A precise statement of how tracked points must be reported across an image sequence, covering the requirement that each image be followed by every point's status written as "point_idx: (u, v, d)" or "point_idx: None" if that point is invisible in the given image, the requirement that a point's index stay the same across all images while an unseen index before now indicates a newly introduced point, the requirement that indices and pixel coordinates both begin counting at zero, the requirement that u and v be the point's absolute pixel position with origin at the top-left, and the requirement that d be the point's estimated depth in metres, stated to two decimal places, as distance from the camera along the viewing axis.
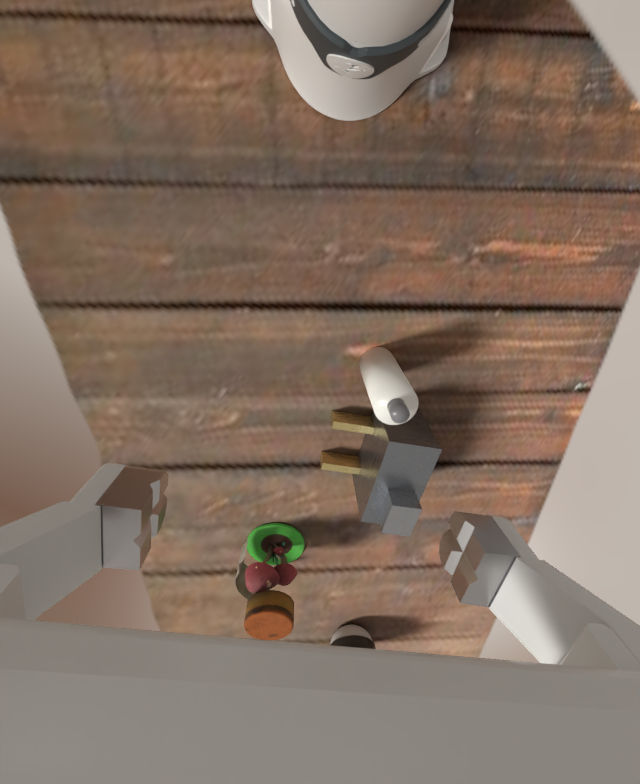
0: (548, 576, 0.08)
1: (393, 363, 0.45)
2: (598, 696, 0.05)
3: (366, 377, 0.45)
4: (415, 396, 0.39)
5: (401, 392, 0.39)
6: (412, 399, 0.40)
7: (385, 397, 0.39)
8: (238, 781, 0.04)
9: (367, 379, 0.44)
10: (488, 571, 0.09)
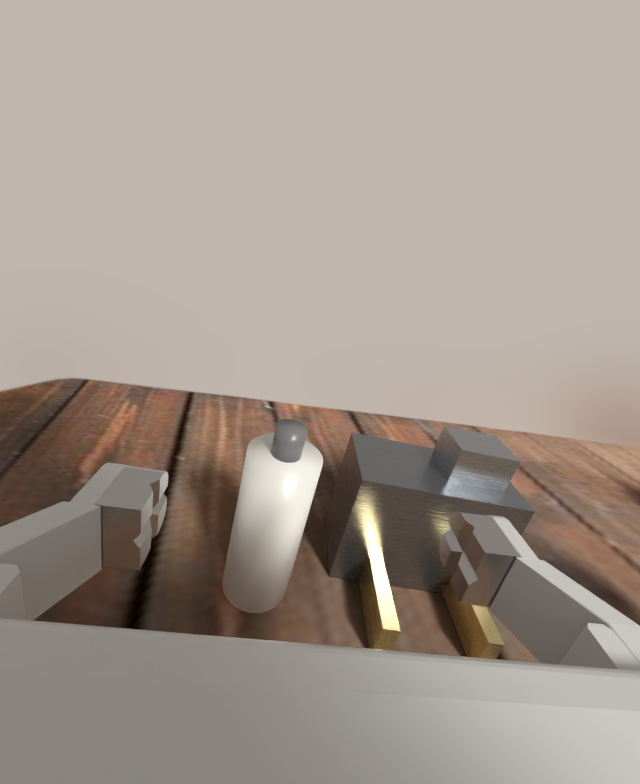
0: (548, 576, 0.08)
1: None
2: (598, 696, 0.05)
3: (262, 552, 0.23)
4: (265, 435, 0.25)
5: (259, 448, 0.23)
6: (271, 438, 0.25)
7: (271, 464, 0.22)
8: (238, 781, 0.04)
9: (263, 544, 0.23)
10: (488, 571, 0.09)
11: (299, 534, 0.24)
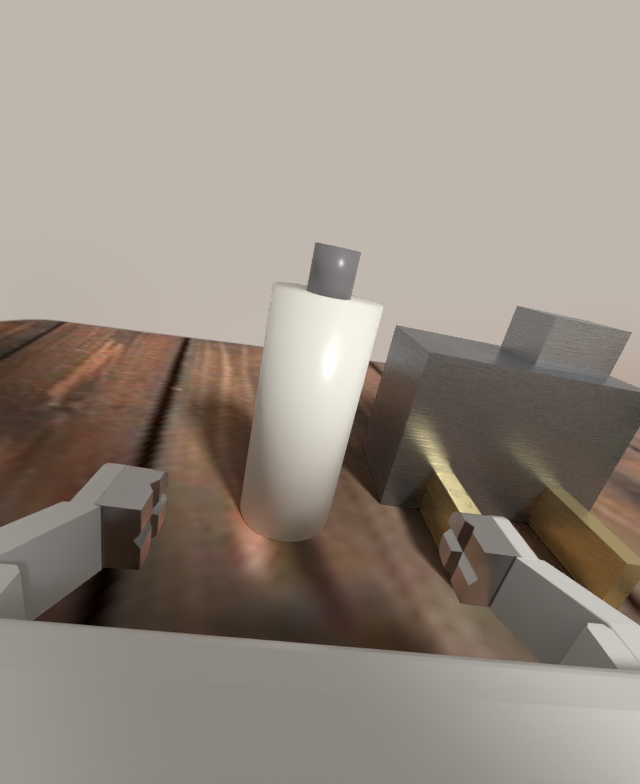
0: (548, 576, 0.08)
1: None
2: (598, 696, 0.05)
3: (301, 440, 0.16)
4: (294, 284, 0.17)
5: (290, 286, 0.16)
6: (304, 286, 0.17)
7: (311, 295, 0.15)
8: (238, 781, 0.04)
9: (302, 426, 0.16)
10: (488, 571, 0.09)
11: (350, 418, 0.17)
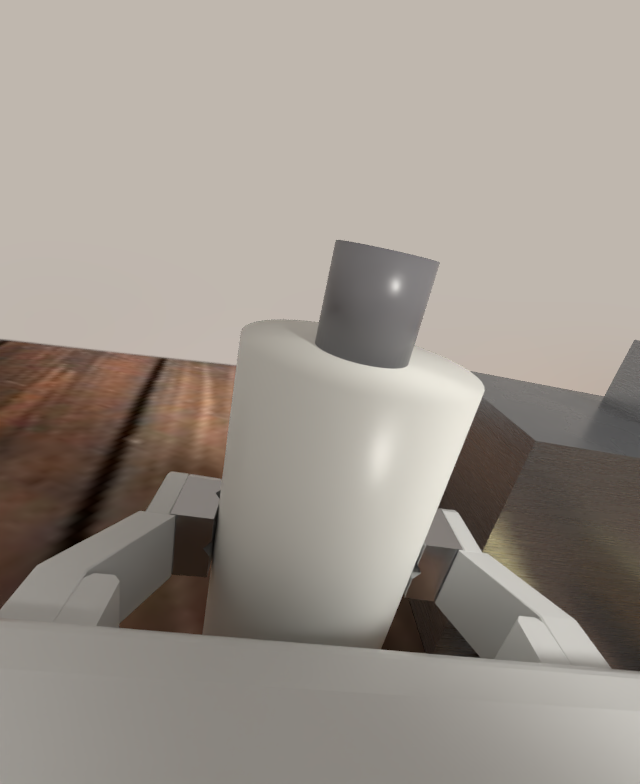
0: (488, 569, 0.08)
1: None
2: (598, 696, 0.05)
3: None
4: (291, 322, 0.09)
5: (280, 335, 0.07)
6: (309, 326, 0.09)
7: (329, 366, 0.06)
8: (238, 781, 0.03)
9: None
10: (431, 564, 0.09)
11: None
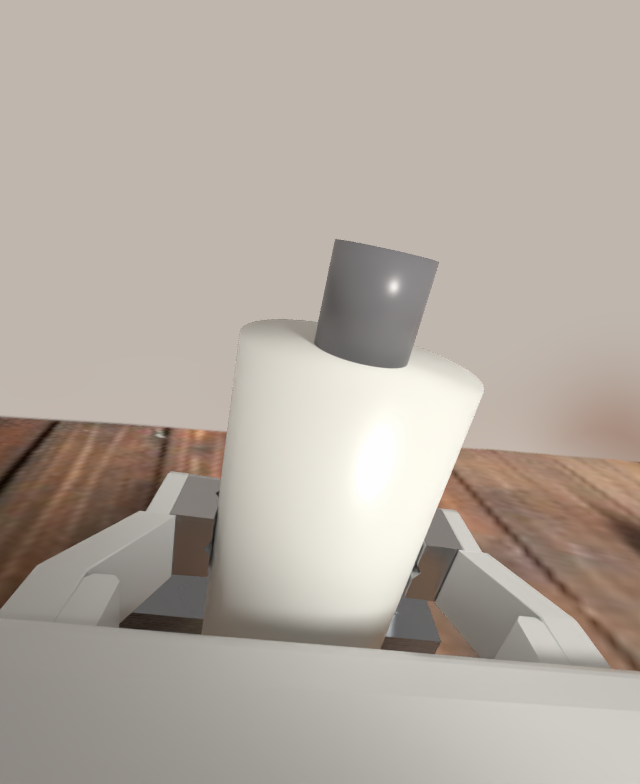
0: (488, 569, 0.08)
1: None
2: (598, 696, 0.05)
3: None
4: (290, 321, 0.09)
5: (279, 334, 0.07)
6: (308, 326, 0.09)
7: (328, 365, 0.06)
8: (238, 781, 0.04)
9: None
10: (431, 564, 0.09)
11: None
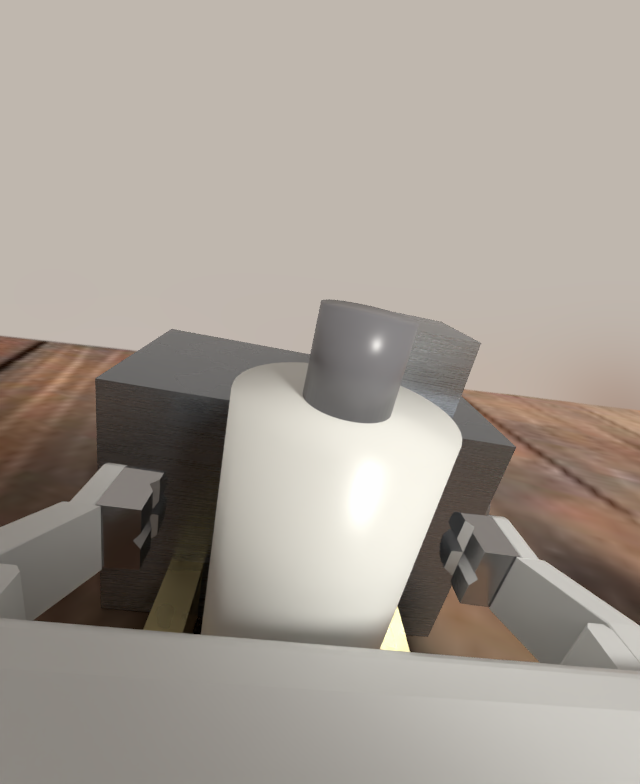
0: (548, 576, 0.08)
1: None
2: (598, 696, 0.05)
3: None
4: (281, 365, 0.09)
5: (269, 387, 0.08)
6: (299, 370, 0.09)
7: (312, 426, 0.06)
8: (238, 782, 0.03)
9: None
10: (488, 571, 0.09)
11: None
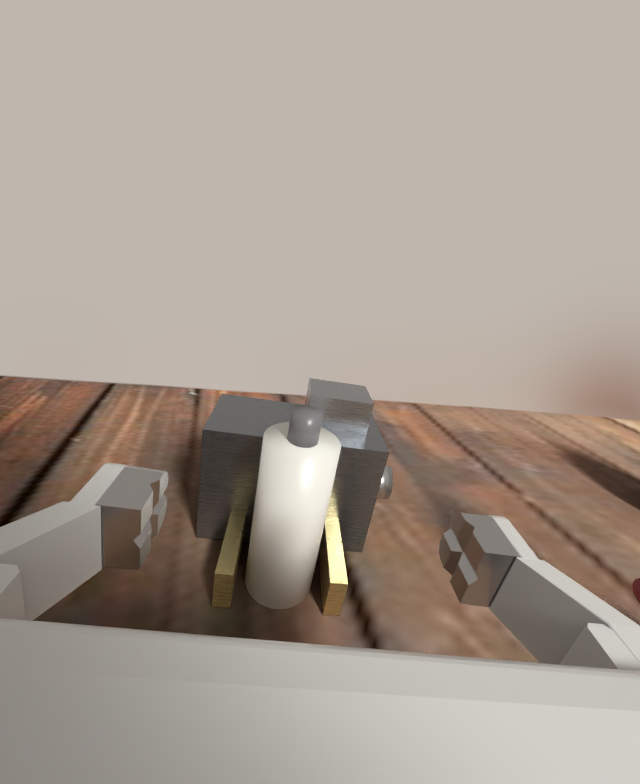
0: (548, 576, 0.08)
1: None
2: (598, 696, 0.05)
3: (285, 543, 0.23)
4: (280, 424, 0.24)
5: (275, 435, 0.23)
6: (286, 426, 0.24)
7: (289, 450, 0.21)
8: (238, 781, 0.04)
9: (286, 534, 0.22)
10: (488, 571, 0.09)
11: (321, 522, 0.24)
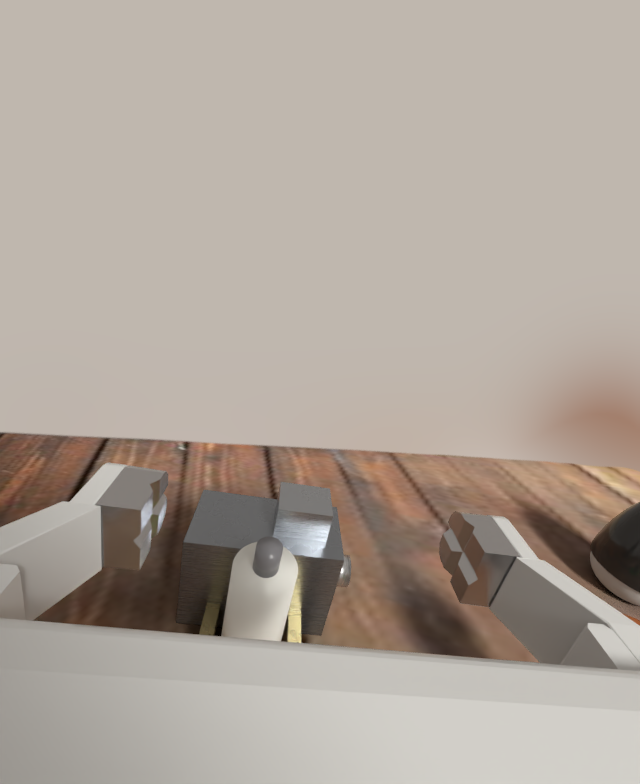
0: (548, 576, 0.08)
1: None
2: (598, 696, 0.05)
3: None
4: (248, 546, 0.29)
5: (243, 563, 0.27)
6: (254, 548, 0.29)
7: (252, 582, 0.26)
8: (238, 781, 0.04)
9: None
10: (488, 571, 0.09)
11: (280, 633, 0.28)
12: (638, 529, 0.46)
